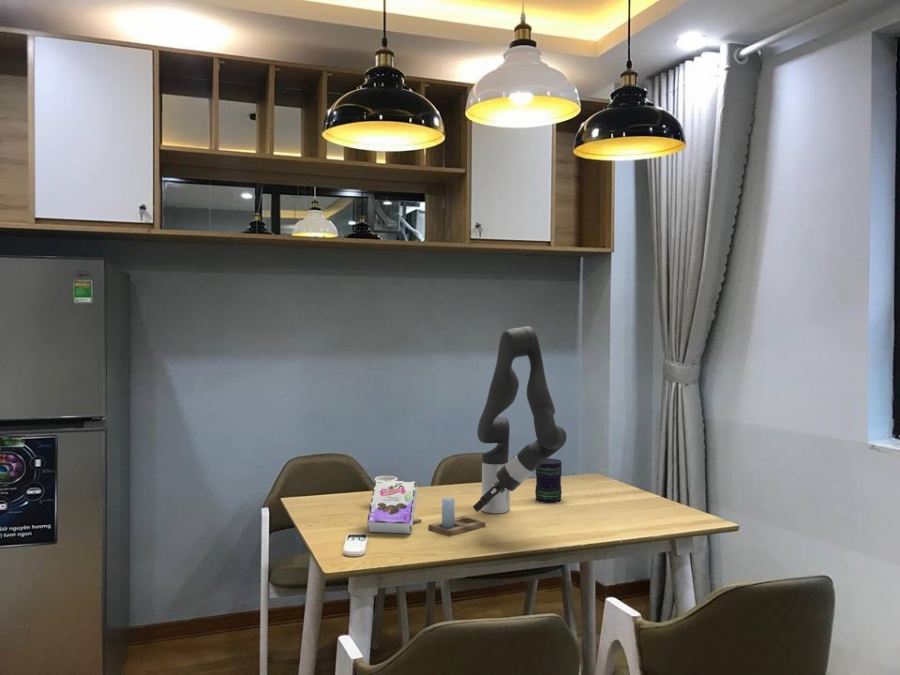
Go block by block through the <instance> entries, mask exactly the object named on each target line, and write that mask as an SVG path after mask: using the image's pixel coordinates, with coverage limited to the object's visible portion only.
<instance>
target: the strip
mask: <svg viewBox="0 0 900 675" xmlns="http://www.w3.org/2000/svg"><path fill="white" fill-rule="evenodd" d="M420 523H421V524H422V519H421V518H418V517H415V516H414V518H413V525H416V524H420Z"/></svg>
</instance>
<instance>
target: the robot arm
mask: <svg viewBox="0 0 900 675" xmlns="http://www.w3.org/2000/svg"><path fill="white" fill-rule="evenodd" d="M498 344H499V346H498V352H497V356H496V357H497V359H496V365H495V368H494V372H493V376H492V378H491V382H490V386H489V391H488V394H487V398H486V403H485V405H484V408H483V410H482V413H481V416H480V418H479V421H478V425H477V433H476V434H477V438H478V440H479V442H480V443H482V444H496V445H495V447H494V448H492V449H491V450H488V451H486V452H484V453H483V454H482V456H481V497H480V498H479V500H478V501H477V502H476V503H475V504H474V505H473V506H472V508H473V509H474V510H475V512H476V513H477V512H480V510H481V511H482V512H484V513H487V514H504V513H507V512H508V511H510V509H511V508H510V507H511V503H510V502H511V497H510V496H511V492H514V491H515V490H516V489H517V488H519V486H520V485H522V483H523V482H525V481H526V480H527V479H528V478H529V477H530V476H531V474H532V473H533V472H534V471H536V470H535V469H536V468H537V467H538V466H539V465H540V464H541V463H542V462H543V461H544V460H545V459H549V458H550V457H551V456H552V455H553V454H555V453H556V452H558V451H560V449H562V447H564V445H565V444H566V442H567V433H566V432H567V431H566V430H565V429H564V428H563V427H561V426H559V425H557V424H556V421H555V416H554V415H555V414H556V409H555V406H554V403H553V400H552V397H551V393H550V390H549V387H548V384H547V378H546V375H545V367H544V363H543V362H544V361H543V357H542V352H541V347H540V345H541V344H540V342H539V338H538V335H537V333H536V331H535V329H534V328H533V327H531V326H527V325H526V326H521V327H514V328H508V329H506V330H504V331H503V332H502V334H501V336H500V338H499V343H498ZM525 356H527V358H528V360H529V364H530V370H529V378H528V381H527V386H526V399H527V402H528V404H529V407H530V408H529V409H530V411H531V414H532V417H533V424H534V433H535V436H536V440H535V441H534V442H531V443H529V444H528V443H527V445H525V446H524V447H523V448H522V449H521V450H520V451H519V452H518V453H517V454H516V455H514V456H513V457H512V458H511V459H509V453H510V451H509V448H510V434H511V433H510V422H509V420H508V418H507V417H506V416H500V414H502V413H503V412H504V411H505V410H507V409H508V408H509V407H510V406H511V405H512V404H513V403H514V402H515V401H516V397H517V395H518V391H519V387H520V381H519V378H518V376H517V374H516V372H515V371H514V369H513V367H512V365H513V362H514V360H515V359H516V358H520V357H525Z"/></svg>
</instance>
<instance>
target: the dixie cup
mask: <svg viewBox="0 0 900 675" xmlns="http://www.w3.org/2000/svg"><path fill="white" fill-rule="evenodd" d="M375 480H379V481H398V477H396V476H393V475H379V476H376V477H375V478H374V481H375Z"/></svg>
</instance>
